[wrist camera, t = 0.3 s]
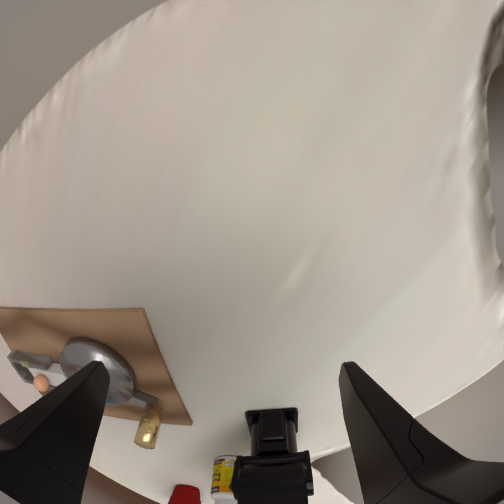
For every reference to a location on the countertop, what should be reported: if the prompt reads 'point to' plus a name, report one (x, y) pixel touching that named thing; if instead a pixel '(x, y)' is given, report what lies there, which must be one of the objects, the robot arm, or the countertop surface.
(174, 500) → the plastic cup
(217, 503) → the supplement bottle
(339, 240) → the countertop surface
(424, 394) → the countertop surface
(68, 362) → the wheel
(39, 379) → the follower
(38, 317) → the wooden base board
